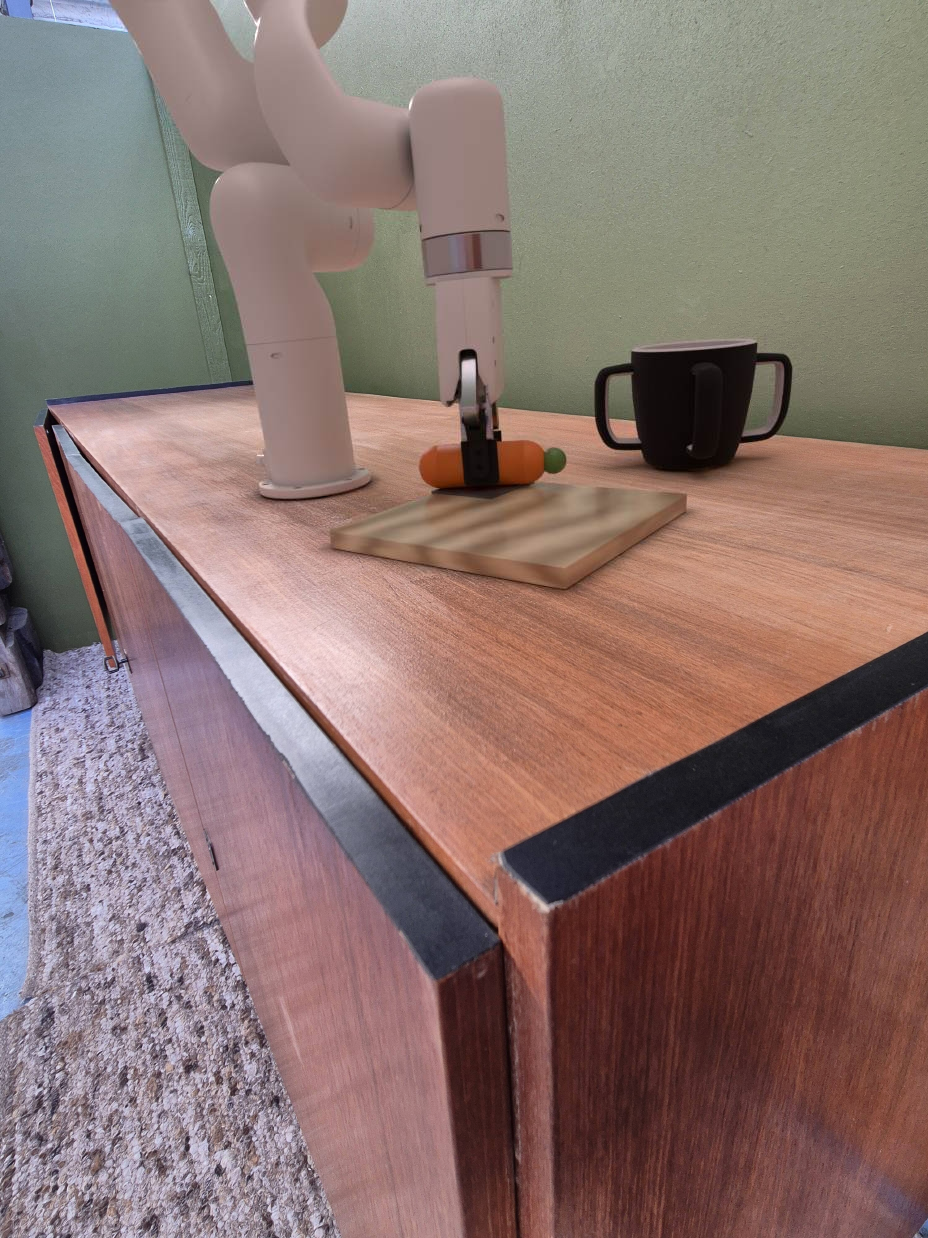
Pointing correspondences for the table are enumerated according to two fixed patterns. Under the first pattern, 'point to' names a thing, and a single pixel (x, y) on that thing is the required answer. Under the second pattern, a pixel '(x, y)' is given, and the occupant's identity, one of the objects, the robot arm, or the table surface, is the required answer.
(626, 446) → the mug
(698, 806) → the table surface
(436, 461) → the carrot
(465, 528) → the chopping board
